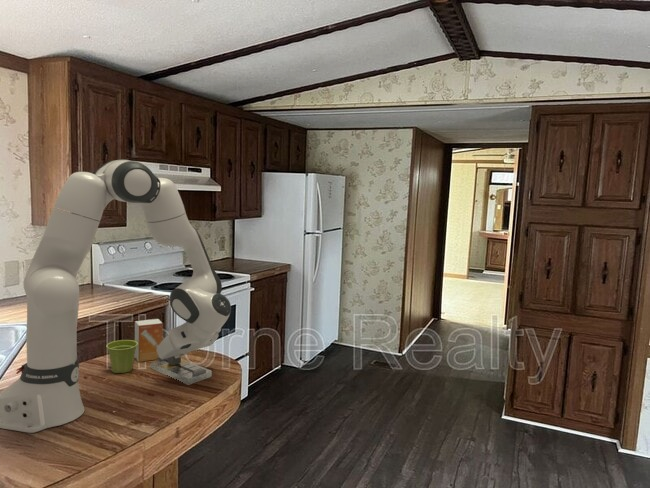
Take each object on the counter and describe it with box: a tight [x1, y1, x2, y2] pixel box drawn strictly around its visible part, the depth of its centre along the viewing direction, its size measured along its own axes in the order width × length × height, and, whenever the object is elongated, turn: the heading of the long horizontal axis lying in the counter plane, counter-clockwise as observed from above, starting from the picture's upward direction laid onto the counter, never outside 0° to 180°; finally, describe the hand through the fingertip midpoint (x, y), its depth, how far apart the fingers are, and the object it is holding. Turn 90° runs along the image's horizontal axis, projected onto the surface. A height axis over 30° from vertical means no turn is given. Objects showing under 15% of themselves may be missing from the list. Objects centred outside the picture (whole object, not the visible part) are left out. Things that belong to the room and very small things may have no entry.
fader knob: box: [168, 356, 182, 365], centre depth 156 cm, size 3×3×8 cm
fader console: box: [150, 357, 213, 386], centre depth 154 cm, size 21×9×3 cm, turn 53°
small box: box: [134, 318, 164, 363], centre depth 165 cm, size 8×6×13 cm
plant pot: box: [106, 339, 138, 374], centre depth 154 cm, size 9×9×9 cm
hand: (178, 355), depth 154 cm, fingers closed, pressing on fader knob
